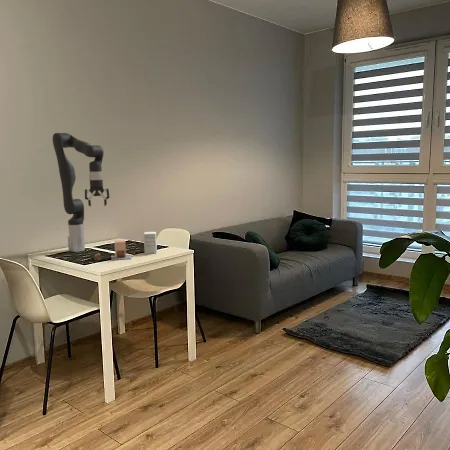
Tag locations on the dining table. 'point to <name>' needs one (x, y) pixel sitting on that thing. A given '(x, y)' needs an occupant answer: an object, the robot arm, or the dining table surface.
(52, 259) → the dining table surface
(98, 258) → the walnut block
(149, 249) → the supplement box
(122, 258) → the grey mat
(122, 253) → the terracotta cover
